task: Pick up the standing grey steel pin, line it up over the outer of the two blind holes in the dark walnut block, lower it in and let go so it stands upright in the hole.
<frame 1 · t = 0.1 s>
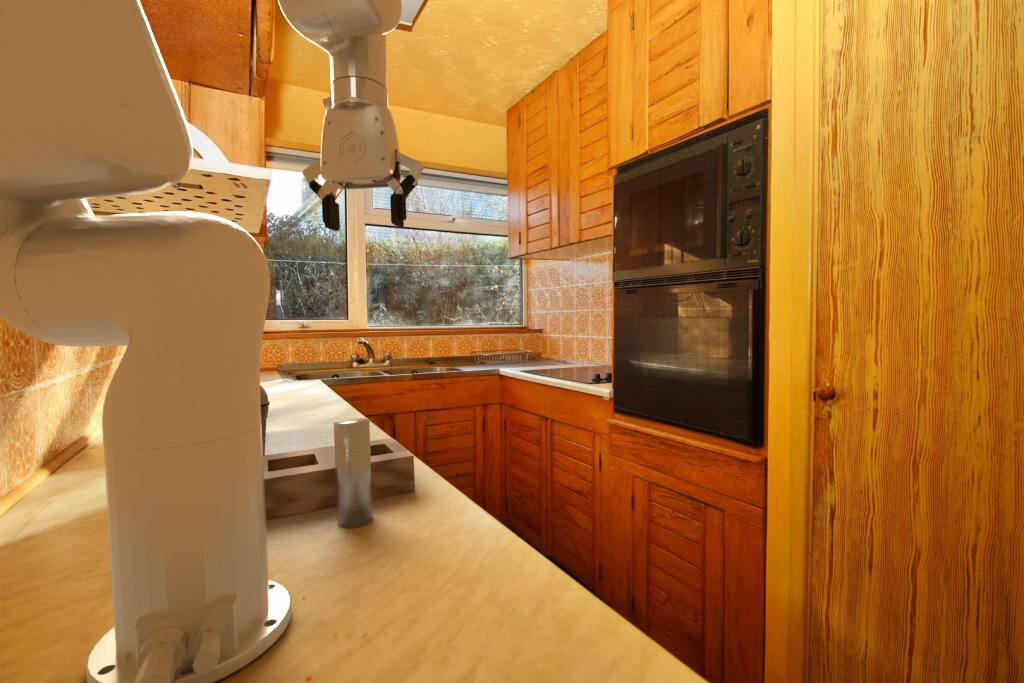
hand: (364, 227, 66), 37 cm above the counter, tool pointing down, fingers open, 9 cm apart
beverage cup: (246, 482, 71), on the counter
steel pin: (355, 520, 56), on the counter
walnut block: (333, 491, 66), on the counter
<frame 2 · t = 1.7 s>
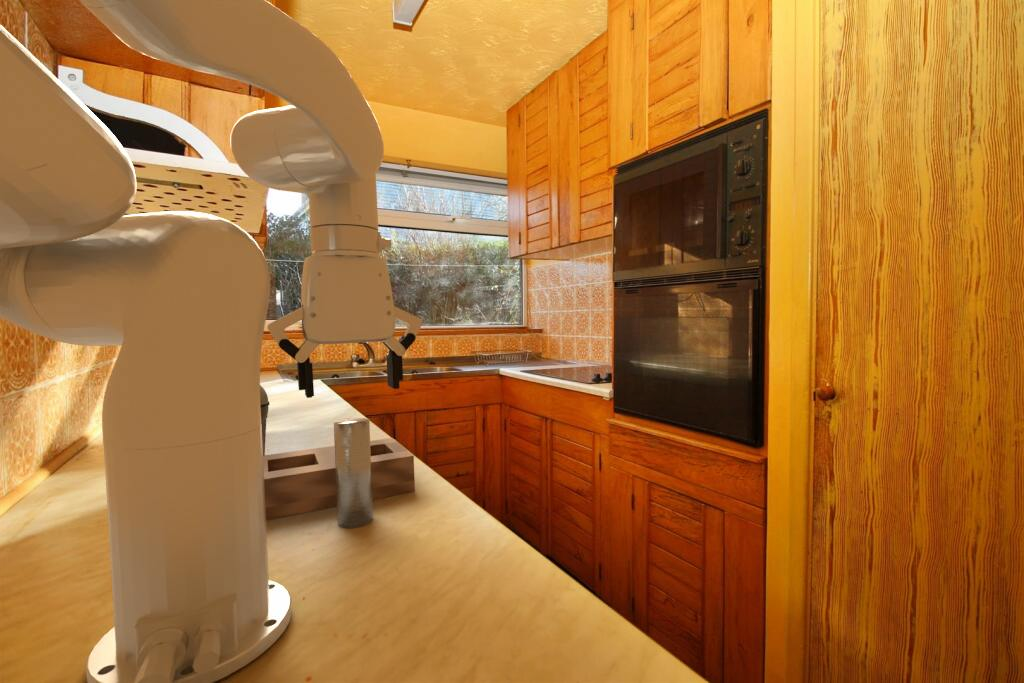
hand: (353, 391, 56), 15 cm above the counter, tool pointing down, fingers open, 9 cm apart
nothing on the counter moved.
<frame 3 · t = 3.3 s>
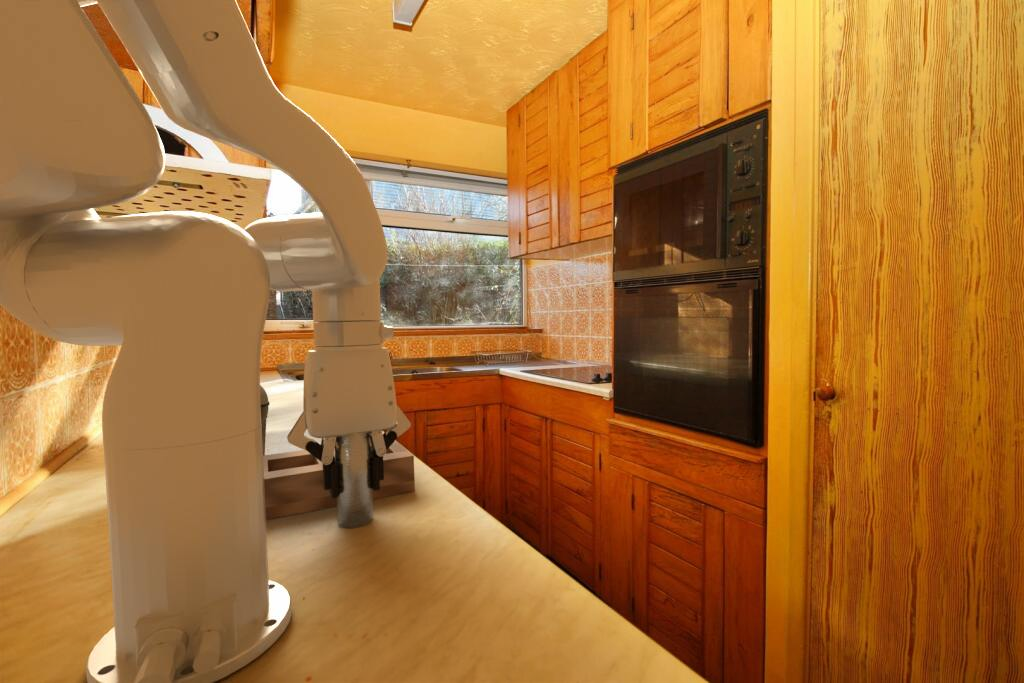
hand: (354, 489, 56), 4 cm above the counter, tool pointing down, fingers closed on steel pin, 4 cm apart
steel pin: (355, 520, 56), on the counter, touching gripper
everything else where it was.
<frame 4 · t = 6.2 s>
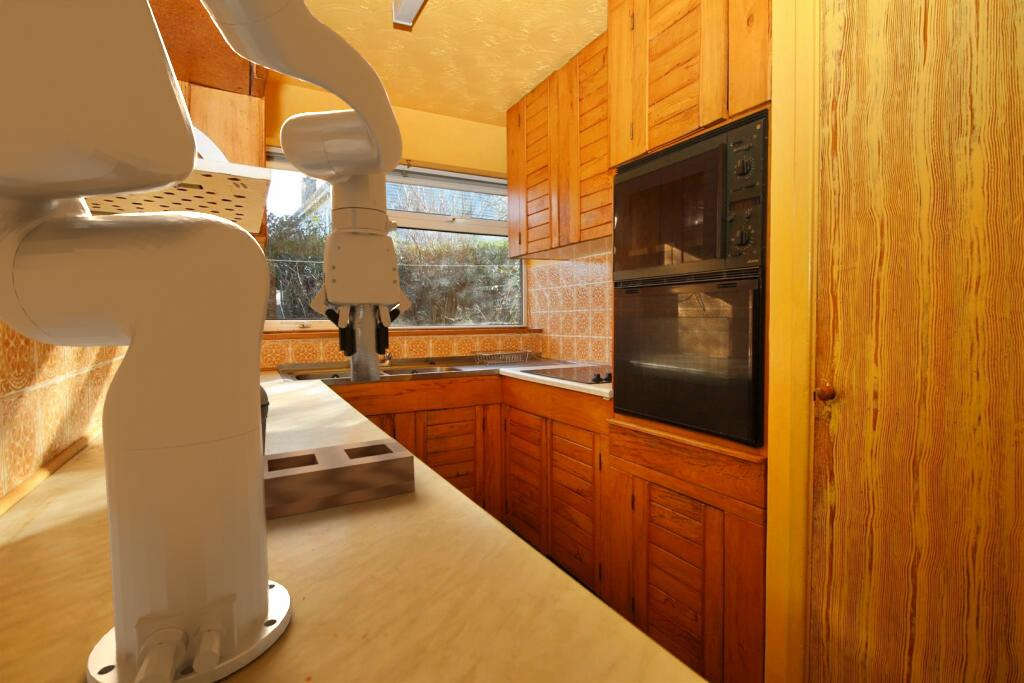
hand: (364, 353, 68), 19 cm above the counter, tool pointing down, fingers closed on steel pin, 4 cm apart
steel pin: (365, 379, 68), point 15 cm above the counter, touching gripper
everything else where it was.
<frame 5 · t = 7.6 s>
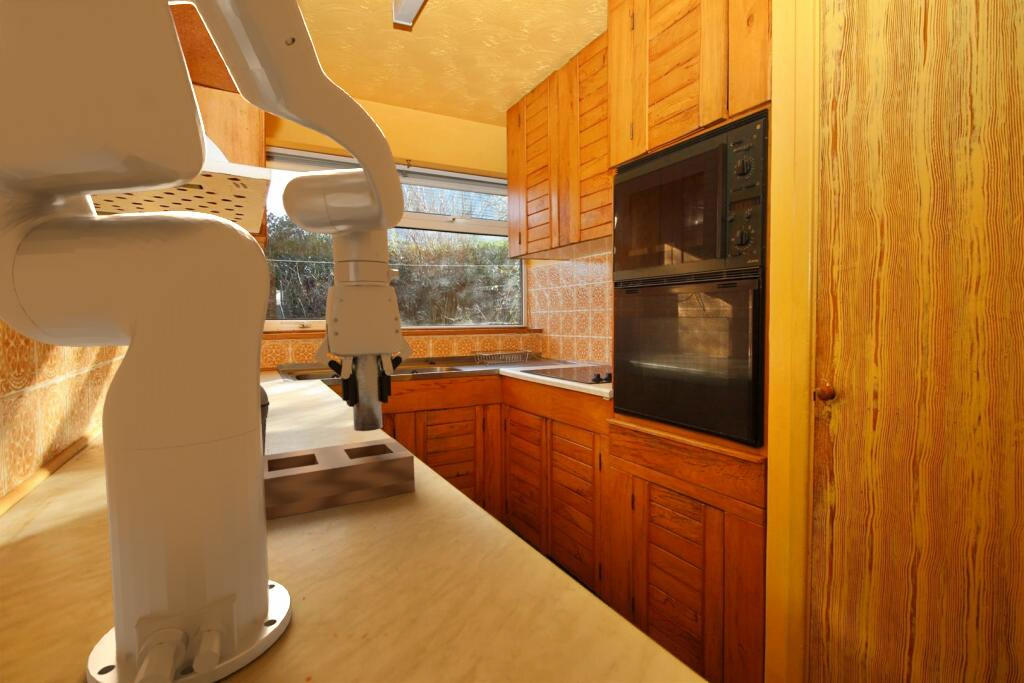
hand: (367, 402, 68), 12 cm above the counter, tool pointing down, fingers closed on steel pin, 4 cm apart
steel pin: (368, 427, 68), point 8 cm above the counter, touching gripper
everything else where it was.
when the fingers open (6 cm above the counter, at t = 9.0 s): steel pin stays where it is, resting on walnut block.
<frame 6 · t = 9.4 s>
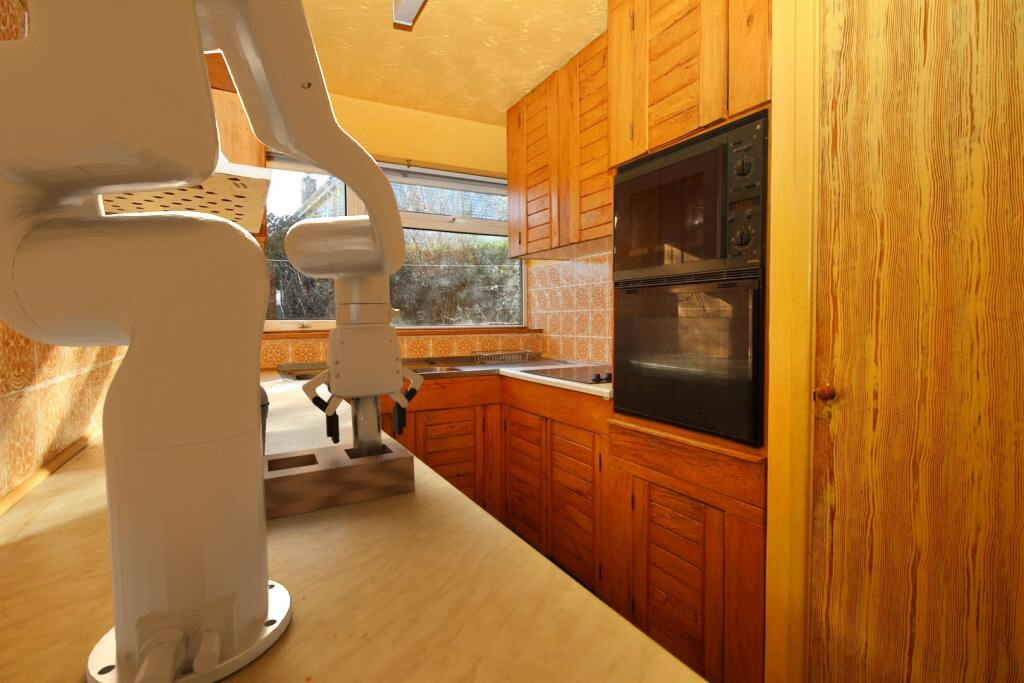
hand: (367, 436, 68), 7 cm above the counter, tool pointing down, fingers open, 8 cm apart
steel pin: (368, 474, 68), point 2 cm above the counter, touching walnut block
everything else where it was.
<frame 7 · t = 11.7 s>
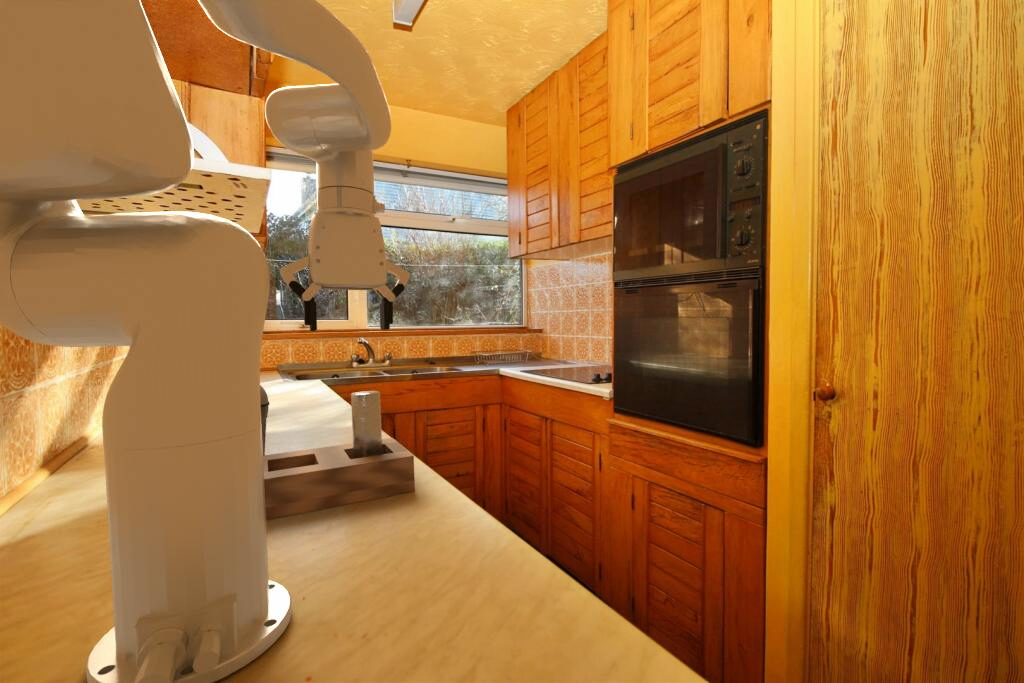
hand: (350, 330, 66), 23 cm above the counter, tool pointing down, fingers open, 9 cm apart
nothing on the counter moved.
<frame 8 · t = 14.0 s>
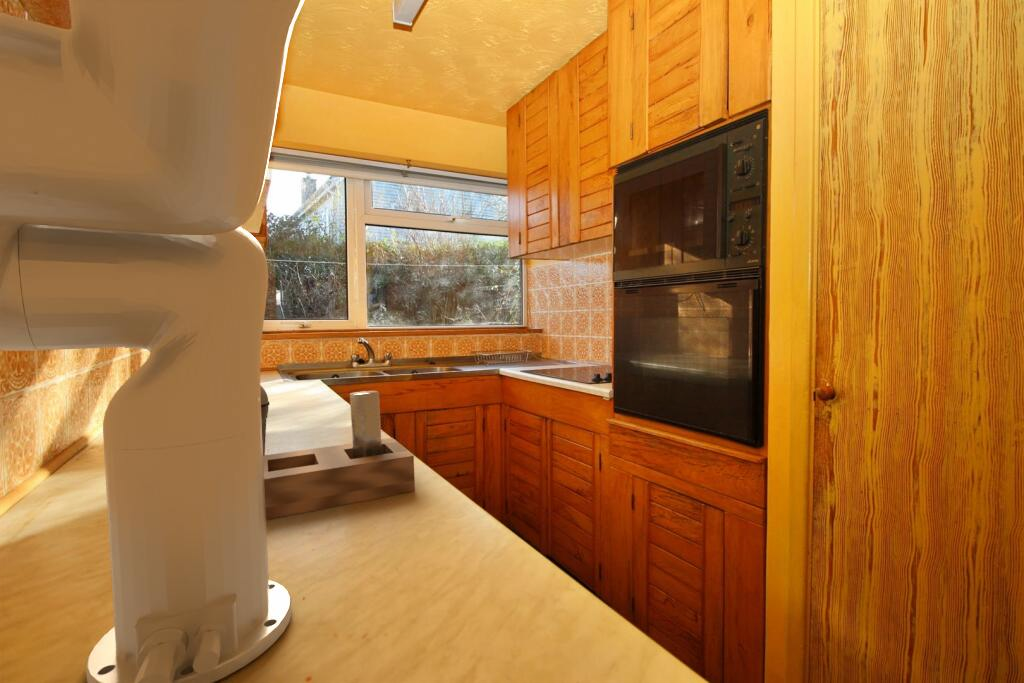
hand: (166, 266, 52), 30 cm above the counter, tool pointing down, fingers open, 9 cm apart
nothing on the counter moved.
at the end: steel pin 0.0 cm from the target spot on the walnut block, point 1.5 cm above the walnut block's base; steel pin tilted 1°; the gripper is holding nothing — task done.
